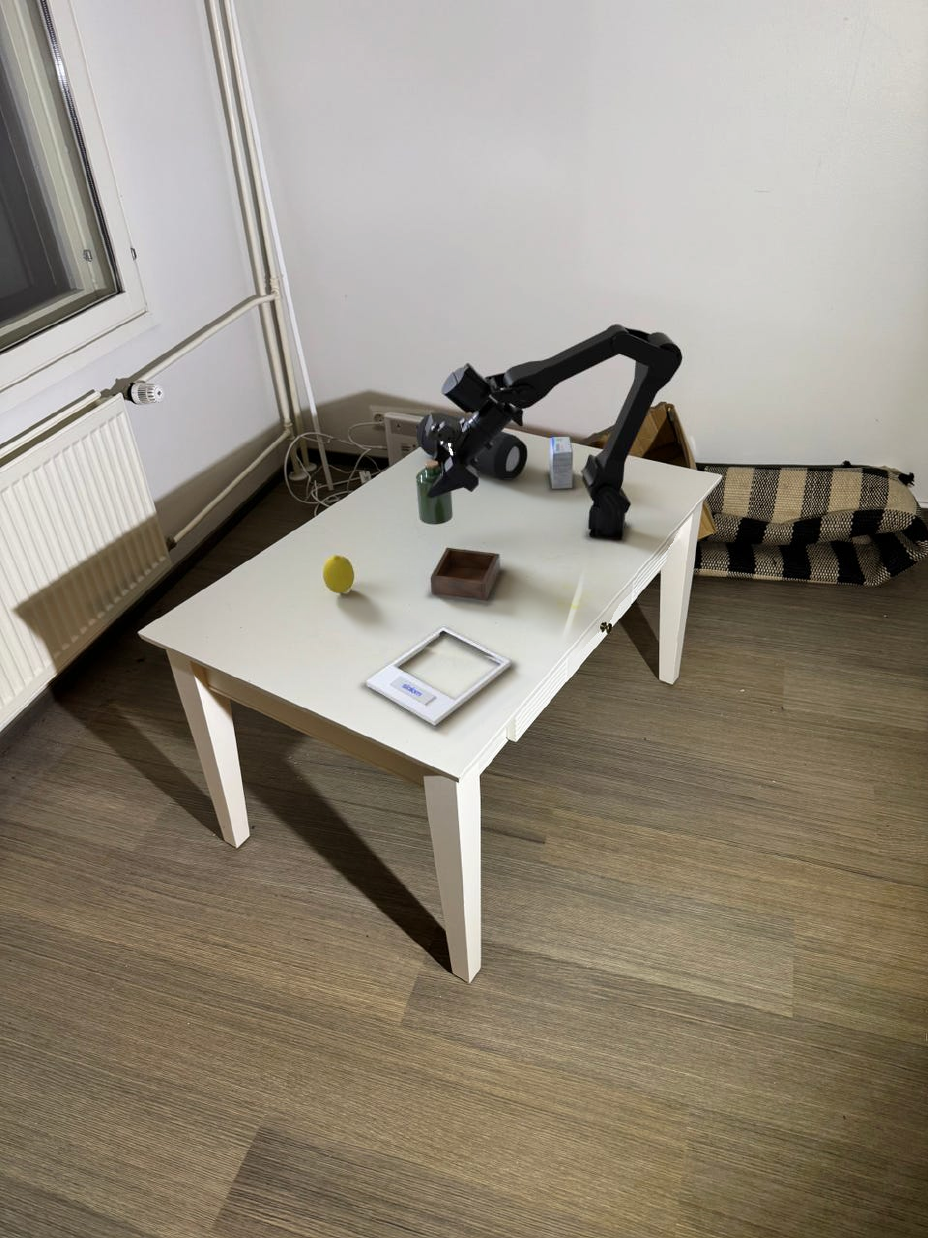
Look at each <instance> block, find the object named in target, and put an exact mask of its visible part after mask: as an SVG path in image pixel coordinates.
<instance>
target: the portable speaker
mask: <svg viewBox="0 0 928 1238" xmlns="http://www.w3.org/2000/svg"><path fill="white" fill-rule="evenodd" d="M435 413H436V414H439V415H442V416H445V417H448V418H451V419H453V420H455V421H457V422H459V421H461V419H462V418H460V417H457V416H453V415H450V414H446V413H444V412H435ZM430 414H431V413H430ZM430 414H427V415H425V416H424V417H423V418H422V419H421V420H420V422H419V424H418V426H417V428H416V429H417V430H416V441H417V444H418V446H419V447H420V449H421V450H423V452H425V453H426V454H427V455H429V456H432V457H434V455H435V453H436V443H435V440H431V439H429V438H428V437H427V436H426V430H425V427H426V424H427V422H428V419H429V417H430ZM492 445H493V447H492V448H491V449H490V450H488V449H487V448H485V449H484V450H483V451H482V452H481V454H480V455H479V456H478V457H477V458H476V459H477V462H478V463H477V464H476V465H475V466H473V465H471V464H470V463H469V462H468V464H469V465H471V466H472V467H473V468H474V469H476V472H477V473H481V474H484V475H487V476H489V477H493V478H496V479H499V480H500V481H501V480H512V479H515V478H518V477H519V476H520V475H521V474H522V472H523V471H524V469H525V466H526V464H527V460H528V447H527V445H526V443H525V442H524V441H523V440H521V439H520V438H519V437H517V436H516V435H515V434H511V433H509V432H505V431H503V430H502V431H501V432H500V433H499V434H498V435H497V437H496V438H495V439H494V440H493V441H492Z"/></svg>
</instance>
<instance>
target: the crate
mask: <svg viewBox="0 0 928 1238" xmlns="http://www.w3.org/2000/svg"><path fill="white" fill-rule="evenodd" d="M500 557H501V554H500V553H496V552H495V553H494V552H488V551H478V550H472V549H471V550H470V549H462V548H453V547H446V548H445V550H444V552H443V553H442V555H441V557H440V559H439V561H438V563H437V564H436V566H435V568H434V569H433V572H432V574H431V575H430V589H431V594H432V595H439V596H440V595H441V596H448V597H455V598H461V599H462V598H463V599H470V600H476V601H477V600H478V601H487V600H488V598H489V595H490V594H491V592H492V589H493V587H494V585H495V582H496V580H497V578H498V575H499V573H500V571H501V560H500V559H501V558H500Z"/></svg>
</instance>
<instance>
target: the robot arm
mask: <svg viewBox="0 0 928 1238" xmlns="http://www.w3.org/2000/svg"><path fill="white" fill-rule="evenodd" d="M618 355H621V356H624V357H627V358H628V359H631V360H633V361H635V363H634V364H635V365H634V377H633V382H632V384H631V387H630V389H629V391H628V393H627V395H626V398H625V400H624V402H623V404H622V406H621V409H620V411H619V413H618V416H617V418H616V420H615V422H614V425H613V427H612V429H611V431H610V433H609V436H608V438H607V440H606V443H605V445H604V447H603V449H602V450H601V451H600V452H599V453H598V454H597V455H593V454H591V453H590V454H588V456H587V460H586V463H585V465H584V467H583V468H582V469H581V470H580V473H581V474H582V477H581V481H582V484H583V486H584V488H585V490H586V492H587V493H588V495H589V497H590V499H591V501H592V505H591V506H590V508H589V511H588V524H587V526H588V527H587V529H588V530H589V533H588V537H590V538H597V539H604V540H605V539H606V540H614V541H622V540H623V537H624V534H625V530H626V527H627V522H626V514H627V513H628V512H629V509H630V508H631V504H632V503H631V501H630V499H629V498H628V496H627V495H626V493H625V491H624V489H623V488H622V486H623V483H624V476H625V464H626V461H627V459H628V457H629V454H630V452H631V450H632V448H633V446H634V443H635V442H636V439H637V437H638V435H639V433H640V431H641V428H642V426H643V424H644V422H645V419H647V416H648V413H649V411H650V409H651V407H652V405H653V402H654V401H655V399H656V396H657V394H658V393H659V391H660V390H662V389H663V388H664V387H665V386H666V385H667V384H669V383H670V381H672V379H673V377H674V376H675V374H676V372H678V370H679V368H680V366H681V365H682V361H683V353H682V351H681V348H680V347H679V346H678V345H677V344H676V343H675V342H674V341H673V340H672V339H671V338H670V337H669V336H668V335H667V334H666V333H665V332H660V331H656V332H652V333H649V332H646V331H643V330H641V329H636V328H630V327H626V326H624V325H621V324H618V323H615V324H612V325H610V326H608V327H607V328H606V329H605V330H603V331H601V332H598V333H596V334H595V335H593V336H591V337H589V338H587V339H585V340H582V341H581V342H579V343H577V344H574V345H572V346H571V347H569V348H567V349H564V350H562V351H561V352H558V353H557V354H555V355H553V356H551V357H548V358H545V359H541V360H531V361H527V362H526V361H525V362H523V363H520V364H517V365H514V366H511V367H510V368H508V369H507V370H506V371H504V372H501V373H496V374H492V375H487V376H485V377H483V376H482V375H481V374H480V373H479V372H478V371H477V370H476V369H475V368H474V366H473V365H472V364H470V363H469V362H466V363H465V364H464V366H463V367H459V368H457V369H456V370H455V371H452V372H451V373H450V374H449V375H448V377H447V378H446V379H445V381H444V383H443V385H442V387H441V391H440V393H441V394H442V395H443V396H444V397H445V398H447V399H448V400H449V401H451V402H452V403H453V404H454V405H455V406H457V407H458V408H459V409H460V410H462V411H463V412H464V413H465V414H469V413H470V414H472V415H471V416H470V417H467V416H465V417H462V418H460V419H461V421H459V422H457V421H455V420H453V419H451V418H448V417H445V416H442V415H439V414H436V413H437V412H431V413H430V417H429V419H428V422H427V424H426V427H425V430H426V436H427V437H428V438H429V439H431V440H435V443H436V453H435V455H434V456H432V459H431V461H437V462H438V464H439V467H441V469H442V473H441V474H440V476H439V477H438V479H437V480H436V481H435V483H434V484H433V486H432V487H431V488H430V490H429V491H428V493H427V497H429V498H430V499H431V498H434V497H437V496H440V495H442V494H445V493H448V492H451V493H452V492H453V491H456V490H460V489H463V488H464V489H465V490H467V491H468V492H470V493H472V492H473V491H474V490H475V489H476V488H477V487H478V486H479V485H480V481H479V475H478V471H476V469H474V468H473V467H472V466H471V465H473V466H475V465H476V464H477V463H478V462H477V459H476V458H477V457H478V456H479V455H480V454H481V452H482V451H483V450H484V449H485V448H487V449H488V450H490V449H491V448H492V447H493V445H492V441H493V440H494V439H495V438H496V437H497V435H498V434H499V433H500V432H501V431H502V432H503V431H504V429H505V428H506V427H507V426H508V425H509V424H510V423H511V422H512V421H513V423H515V424H516V425H517V426H519V427H520V428H521V427H523V426H524V420H523V416H524V410H526V409H529V408H531V407H533V406H534V405H536V404H537V403H538V402H540V401H541V400H543V399H544V398H546V397H547V396H548V394H549V393H551V391H552V390H553V389H554V388H555V387H557V386H558V385H559V384H561V383H563V382H564V381H566V380H569V379H571V378H573V377H575V376H577V375H579V374H581V373H583V372H585V371H588V370H589V369H591V368H593V367H595V366H597V365H599V364H601V363H603V362H606V361H607V360H609V359H612V358H614V357H616V356H618ZM468 462H469V463H470V464H471V465H469V464H468Z"/></svg>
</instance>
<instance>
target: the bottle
mask: <svg viewBox="0 0 928 1238" xmlns="http://www.w3.org/2000/svg"><path fill="white" fill-rule="evenodd" d="M424 467H425V468H423V469H421V470H420V471H419V472H418V473H416V475H415V483H416V484H415V486H416V495H417V497H416V498H417V507H418V518H419V520H420V521H421V523H423V524H427V525H434V526H435V525H436V526H437V525H443V524H445V523H448V522H450V520H452V519H453V515H454V512H453V496H452V495H453V494H452V491H451V492H448V493H445V494H442V495H440V496H437V497H434V498H431V499H430V498H429V497H427V493H428V491H429V490H430V488H431V487H432V486H433V484H434V483H435V481H436V480H437V479H438V477H439V476H440V474H441V473H442V469H441V467H439V464H438V462H437V461H432V460H428V461H426V463H425V466H424Z"/></svg>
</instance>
